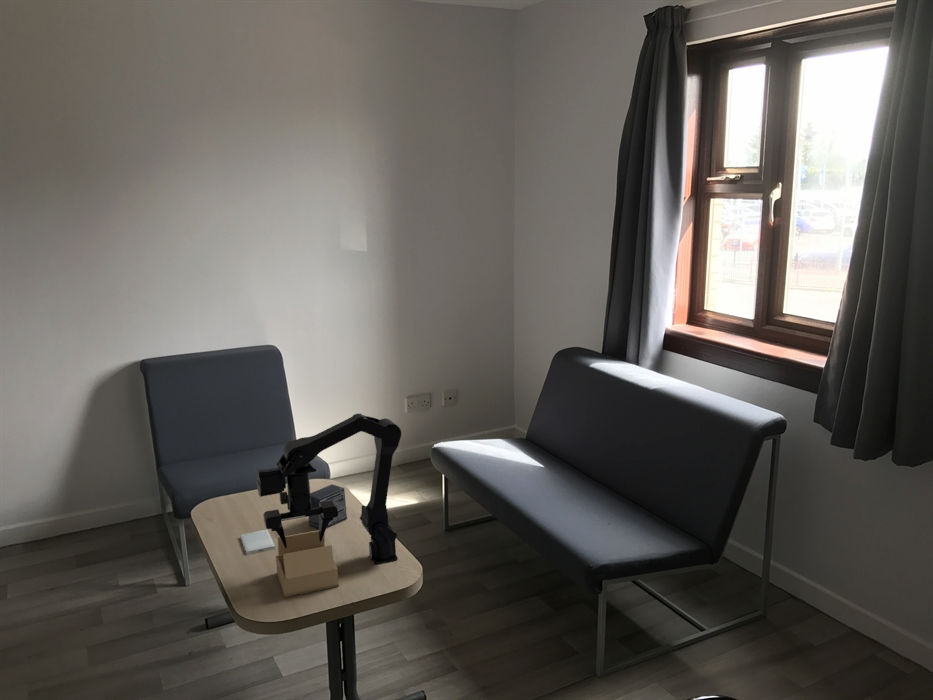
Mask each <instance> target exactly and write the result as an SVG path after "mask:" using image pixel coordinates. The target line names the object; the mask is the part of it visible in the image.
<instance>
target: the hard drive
mask: <svg viewBox="0 0 933 700" xmlns="http://www.w3.org/2000/svg"><path fill="white" fill-rule="evenodd" d="M240 540H242V541H241V542H242V543H241V544H242V545H243V549H244V552H245V551H246V552H245V554H246V555H247V554H249V555H253V553H254V554H258V552H259V553H262V552H263V553H264V552H268V551H272V549H273V550H276V545H275V543H274V540H273V538H272V536H271V534H270V532H269V529H262V530H257V531H256V530H255V531H252V532H247V533H242V534H240ZM267 550H268V551H267Z"/></svg>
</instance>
